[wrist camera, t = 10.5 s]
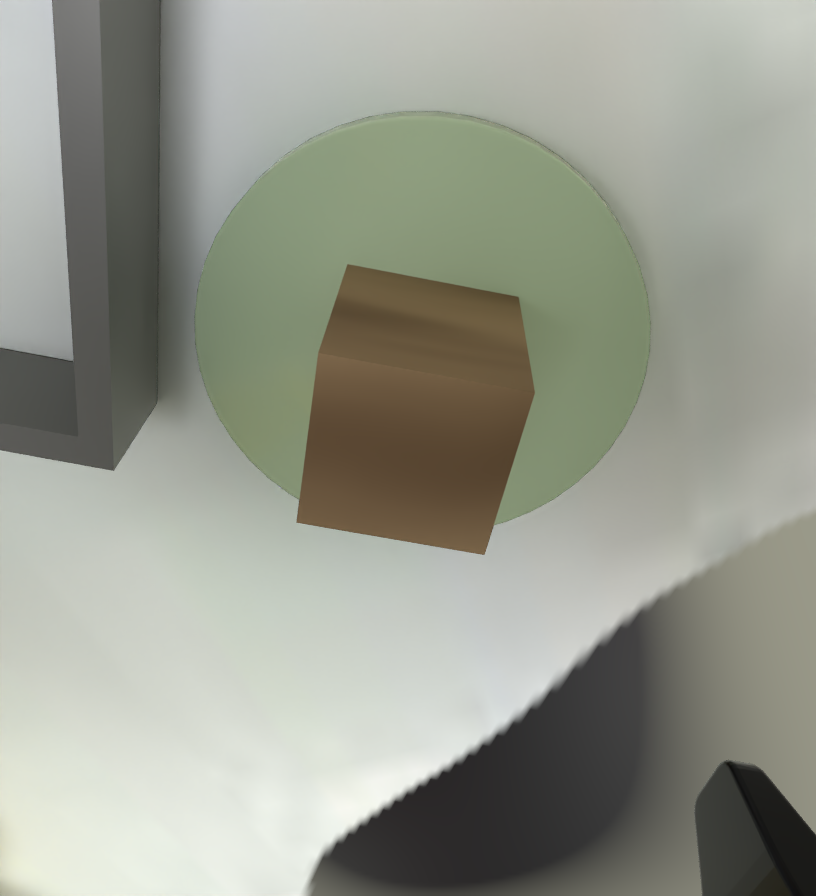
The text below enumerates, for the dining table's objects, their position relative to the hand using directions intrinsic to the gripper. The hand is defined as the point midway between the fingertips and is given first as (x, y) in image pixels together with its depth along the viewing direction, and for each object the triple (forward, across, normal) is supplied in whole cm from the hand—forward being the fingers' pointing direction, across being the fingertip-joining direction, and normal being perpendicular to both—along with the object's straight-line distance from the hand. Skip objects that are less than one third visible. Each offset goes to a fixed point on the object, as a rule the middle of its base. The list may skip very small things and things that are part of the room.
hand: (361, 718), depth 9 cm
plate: (+12, 0, +1) cm, 12 cm away
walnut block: (+11, 0, +1) cm, 11 cm away
